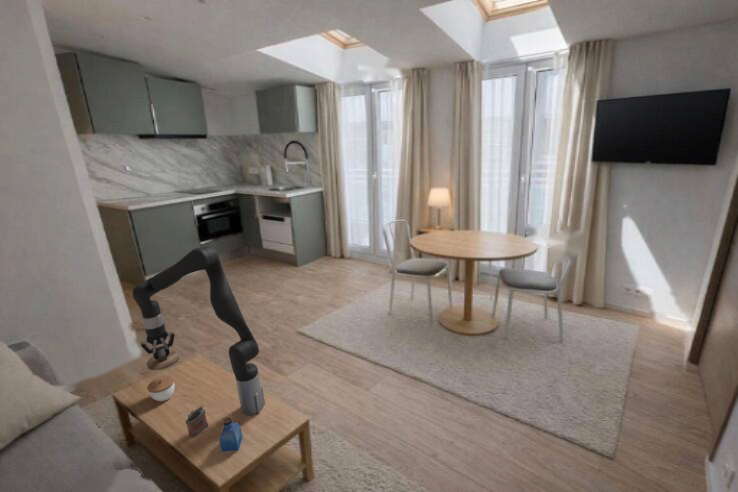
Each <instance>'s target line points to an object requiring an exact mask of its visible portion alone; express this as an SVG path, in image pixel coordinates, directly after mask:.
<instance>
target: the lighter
mask: <svg viewBox="0 0 738 492" xmlns="http://www.w3.org/2000/svg"><path fill="white" fill-rule="evenodd" d="M185 424H186V426H187V427H186V428H187V429H188V430H187V431H188V436H189V437H188V438H189V439H193V438H195V437H197V436H198V435H200V434H201V433H202V432H204V431H205V429H207V428H208V427H209V423H208V420H207V415H206V409H204V408H203V406H202V405H200V406H198V407H197V408H196V409H195V410H192V411H190V412H189V414H188V415H187V419H186V420H185Z"/></svg>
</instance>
